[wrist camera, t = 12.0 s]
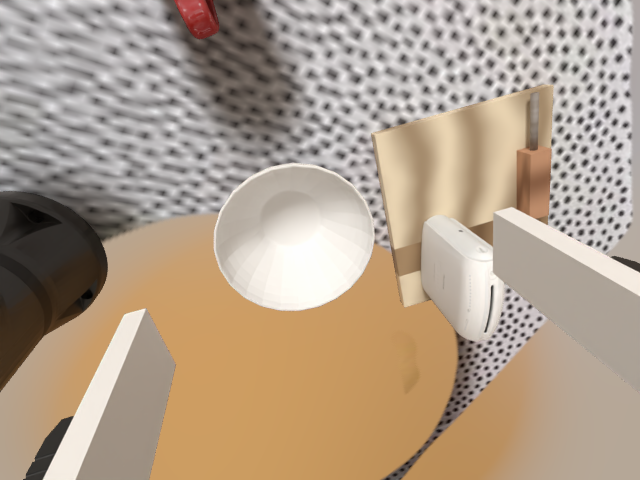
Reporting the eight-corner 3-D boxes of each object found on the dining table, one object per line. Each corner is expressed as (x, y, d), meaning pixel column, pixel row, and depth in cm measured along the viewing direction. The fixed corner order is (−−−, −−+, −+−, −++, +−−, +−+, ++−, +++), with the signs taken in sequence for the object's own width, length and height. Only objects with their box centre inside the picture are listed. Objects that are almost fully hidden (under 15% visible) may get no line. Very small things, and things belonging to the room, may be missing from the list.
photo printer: (419, 215, 43) (475, 266, 32) (454, 210, 44) (521, 258, 33) (417, 289, 48) (466, 355, 37) (448, 283, 48) (506, 348, 37)
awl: (534, 208, 45) (548, 215, 43) (516, 213, 45) (529, 220, 43) (537, 89, 39) (554, 90, 37) (516, 95, 39) (531, 97, 37)
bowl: (360, 145, 40) (379, 160, 34) (355, 272, 47) (371, 304, 41) (210, 152, 38) (201, 168, 32) (228, 284, 45) (223, 319, 38)
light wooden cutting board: (400, 301, 50) (404, 307, 49) (370, 133, 40) (375, 135, 38) (538, 259, 51) (545, 265, 49) (543, 84, 41) (553, 85, 39)
